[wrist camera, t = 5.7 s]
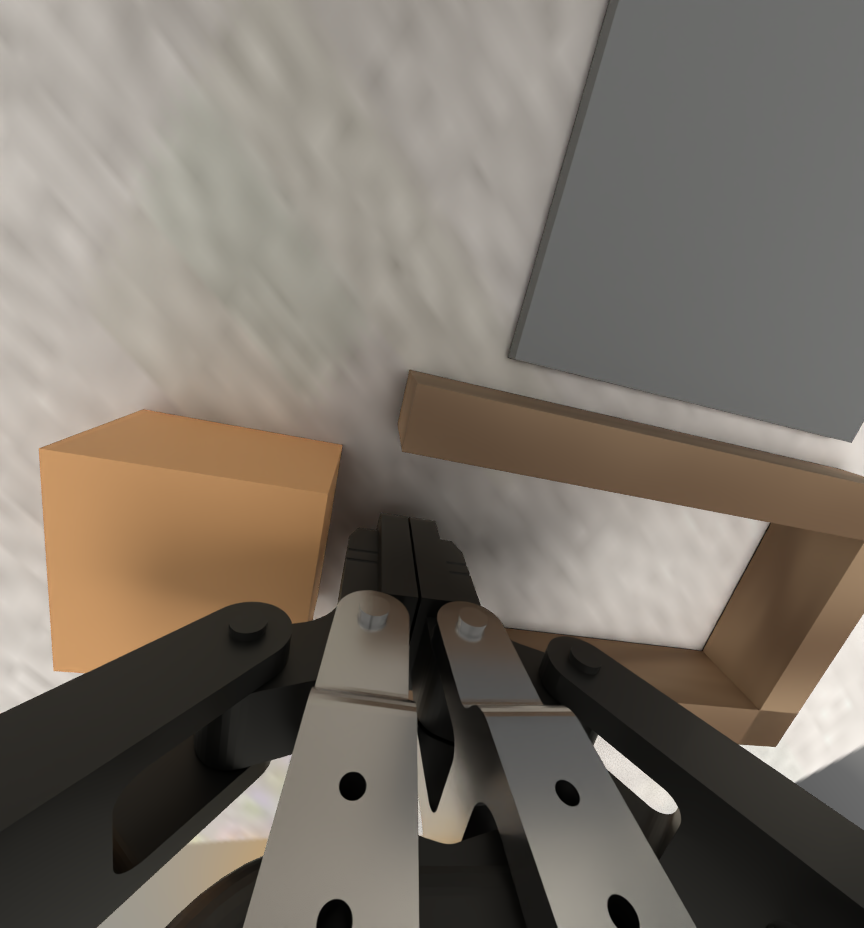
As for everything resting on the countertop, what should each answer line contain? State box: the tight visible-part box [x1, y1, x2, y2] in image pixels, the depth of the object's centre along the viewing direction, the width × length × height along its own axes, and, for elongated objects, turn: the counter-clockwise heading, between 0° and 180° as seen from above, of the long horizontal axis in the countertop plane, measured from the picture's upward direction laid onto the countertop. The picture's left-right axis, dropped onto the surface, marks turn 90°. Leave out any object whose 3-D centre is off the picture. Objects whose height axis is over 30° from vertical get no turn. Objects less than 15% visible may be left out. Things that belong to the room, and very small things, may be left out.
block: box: [39, 409, 343, 673], centre depth 10 cm, size 5×5×4 cm
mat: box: [508, 0, 864, 443], centre depth 10 cm, size 11×11×1 cm
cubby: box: [398, 370, 864, 747], centre depth 12 cm, size 9×14×2 cm, turn 76°
